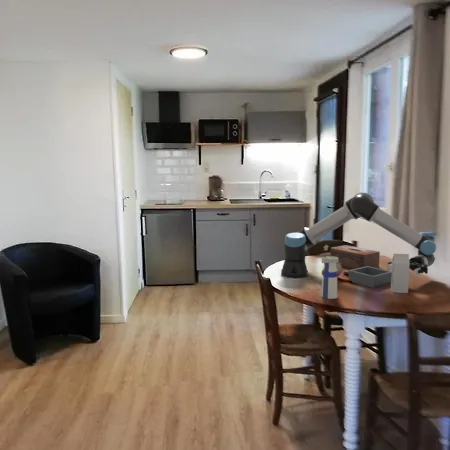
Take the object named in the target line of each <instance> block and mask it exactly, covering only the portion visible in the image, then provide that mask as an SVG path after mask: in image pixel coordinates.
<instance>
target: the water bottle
mask: <svg viewBox="0 0 450 450" xmlns="http://www.w3.org/2000/svg"><path fill="white" fill-rule="evenodd" d="M329 247H330V246H329V245H328V244H325V246H323V248H324V249H323V251H328V248H329ZM338 261H339V259H338V257H335V256H330V255H326V256H325V257H321V264H323V267H322V269H321V275H322V278H321V291H320V296H321V298H323V299H329V300H333V299H337V298H338V277H336V271H337V268H336V263H337V262H338Z"/></svg>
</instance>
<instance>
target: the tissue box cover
mask: <svg viewBox="0 0 450 450" xmlns="http://www.w3.org/2000/svg"><path fill="white" fill-rule="evenodd" d="M329 253H330V254H329V256H335V257H338V259H339V261H338V262H339V263H341V264H340V265H341V266H342V267H345V268H350V269H352V270H353V269H357V268H362V267H366V266H369V267H373V268H378V269H380V256H381V255H380V254H381V252H380V251H379V250H374V249H373V250H372V249H369V248H368V249H367V248H362V247H357V246H352V245H347V244H346V245H337V246H333V247H330V252H329Z"/></svg>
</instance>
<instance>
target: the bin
mask: <svg viewBox="0 0 450 450" xmlns="http://www.w3.org/2000/svg"><path fill="white" fill-rule="evenodd" d="M391 273H392V270H389V271H387V269H386V270H385V269H382V268H373V267H369V266H366V267H362V268H357V269H353V268H352V269H349V270H348V279H349V280H351V281H352V282H351V283H353V284H358V285H361V286H365V287H368V288H372V289H374V288H378V287H382V286H385V285H389V284H390V285H391ZM348 279H347V280H348Z"/></svg>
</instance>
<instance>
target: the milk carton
mask: <svg viewBox="0 0 450 450" xmlns="http://www.w3.org/2000/svg"><path fill="white" fill-rule="evenodd" d="M409 257H410V255H409V254H408V253H393V256H392V259H391V262H392V270H391V272H392V273H391V283H390V290H391V291H392V293H395V294H396V293H399V294H408V293H409V282H410V280H409V279H410V269H409V266H410V263H409V260H410V258H409Z"/></svg>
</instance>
